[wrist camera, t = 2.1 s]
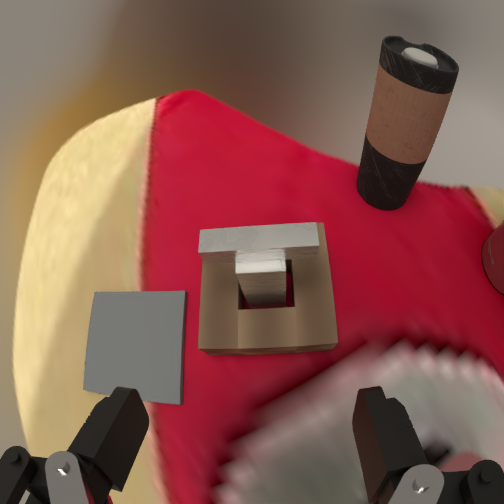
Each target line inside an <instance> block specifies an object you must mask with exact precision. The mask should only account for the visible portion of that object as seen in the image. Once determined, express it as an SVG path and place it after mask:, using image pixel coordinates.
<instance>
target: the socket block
mask: <svg viewBox="0 0 504 504" xmlns="http://www.w3.org/2000/svg"><path fill="white" fill-rule="evenodd" d="M316 225H317V231H318V238H319V250H318V255H317V258H306V259H290V260H285V263H286V273H291V281H292V296H293V307H286V308H267V309H244V294H243V291H242V289H241V286H240V284H239V281H238V279H237V276H236V263H220V264H204V262H203V265H202V280H201V297H200V317H199V341H198V349H200V350H202V351H203V352H205V353H207V354H209V355H258V354H283V353H300V352H314V351H325V350H332V349H333V348H334V347H335V346H336V345H337V344H338V335H337V325H336V315H335V305H334V296H333V288H332V280H331V272H330V264H329V257H328V250H327V243H326V237H325V230H324V224H323V223H316Z"/></svg>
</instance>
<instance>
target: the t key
mask: <svg viewBox="0 0 504 504" xmlns="http://www.w3.org/2000/svg"><path fill="white" fill-rule="evenodd" d="M318 250H319V238H318V231H317V225H316V222H312V223H294V224H277V225H261V226H246V227H232V228H219V229H205V230H200V239H199V251H198V253H199V255H200V257H201V258H202V260H203V262H204V264H220V263H236V276H237V279H238V281H239V284H240V286H241V289H242V291H243V294H244V296H245V299H246V301H247V304H248V306H249V309H267V308H286V263H285V260H290V259H306V258H317V255H318Z"/></svg>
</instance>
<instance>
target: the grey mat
mask: <svg viewBox="0 0 504 504" xmlns="http://www.w3.org/2000/svg"><path fill="white" fill-rule="evenodd" d="M186 306H187V292H186V291H150V292H95V293H94V298H93V304H92V310H91V317H90V324H89V331H88V340H87V348H86V359H85V370H84V385H83V390H87V391H91V392H96V393H101V394H106V395H111V394H112V392H113V391H114V389H115V388H116V387H118V386H120V387H126V388H133V389H136V390H137V391H138V392H139V395H140V397H141V399H142V400H143V401H150V402H159V403H168V404H178V405H183V364H184V340H185V322H186Z"/></svg>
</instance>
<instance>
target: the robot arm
mask: <svg viewBox="0 0 504 504" xmlns="http://www.w3.org/2000/svg"><path fill="white" fill-rule="evenodd" d="M482 260H483V265H484V269H485V271H486V274H487V276H488V278H489V280H490V282H491V283H492V284H493V286H494V287H495V288H496V289H497V290H498V291H499V292H500V293H502V294H504V220H503V221H502V223H501V224H500V225H499V226H498V227H497V228H496V229H495V230H494V232H493V233H492V234H491V235H490V236H489V237H488V238H487V239H486V240H485V242H484V244H483V248H482ZM352 425H353V433H354V437H355V441H356V445H357V450H358V454H359V458H360V463H361V467H362V472H363V476H364V481H365V486H366V491H367V496H368V501H369V503H370V502H375V501H379V504H504V472H503V470H502V468H501V466H500V465H499V464H498V463H496V462H495V461H492V460H482V461H479V462H477V463H476V464H475V465H474V466H473V467H472V468H471V469H470V470H468V471H458V472H442V471H440V470H439V469H438V468H436V467H434V466H432V465H430V464H429V463H428V461H427V459H426V457H425V454H424V452H423V449H422V447H421V444H420V442H419V439H418V437H417V435H416V432H415V430H414V428H413V425H412V423H411V421H410V419H409V416H408V414H407V411H406V409H405V407H404V406H403V405H402V404H401V403H400V402H399V401H398V400H397V399H396V398H395V397H394V398H389V399H386V397H385V395H384V392H383V390H382V388H381V387H380V386H377V387H370V388H364V389H359V391H358V395H357V400H356V404H355V409H354V413H353V420H352ZM148 427H149V416H148V413H147V411H146V409H145V406H144V404H143V402H142V399H141V397H140V395H139V392H138V391H137V390H136V389H133V388H126V387H120V386H118V387H116V388H115V389H114V391H113V392H112V394H111V395H110V397H105V398H104V399H102V400H101V401H100V402H99V403H97V404H96V405H95V407H94V409H93V410H92V412H91V413H90V416H88V418H87V420H86V423H84V424H83V426H82V427H81V429H80V431H79V432H78V434H77V435H76V437H75V439H74V440H73V442H72V444H71V445H70V447H69V448H68V450H67V451H59V452H56V453H53V454H52V455H51V456H50V457H49V458H42V457H33V456H31V455H30V454H29V453H28V452H27V451H26V449H25V448H23V447H21V446H13V447H10V448H9V449H7V450H6V451H5V453H4V454H3V456H2V457H1V459H0V504H19V502H20V500H21V498H22V496H23V494H24V492H25V490H27V491H28V492H30V495H29V497H28V499H27V501H26V503H25V504H113V502H112V500H111V497H110V496H109V492H110V490H111V489H114V490H117V491H120V492H122V490H123V487H124V485H125V483H126V480H127V478H128V475H129V473H130V470H131V468H132V466H133V463H134V461H135V458H136V456H137V454H138V451H139V449H140V447H141V444H142V442H143V440H144V437H145V435H146V432H147V430H148Z"/></svg>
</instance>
